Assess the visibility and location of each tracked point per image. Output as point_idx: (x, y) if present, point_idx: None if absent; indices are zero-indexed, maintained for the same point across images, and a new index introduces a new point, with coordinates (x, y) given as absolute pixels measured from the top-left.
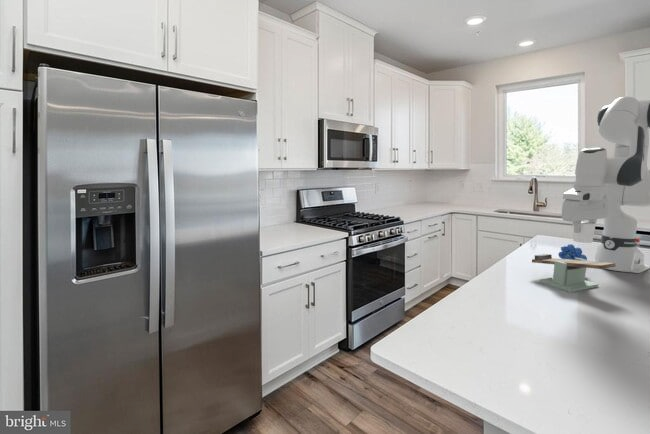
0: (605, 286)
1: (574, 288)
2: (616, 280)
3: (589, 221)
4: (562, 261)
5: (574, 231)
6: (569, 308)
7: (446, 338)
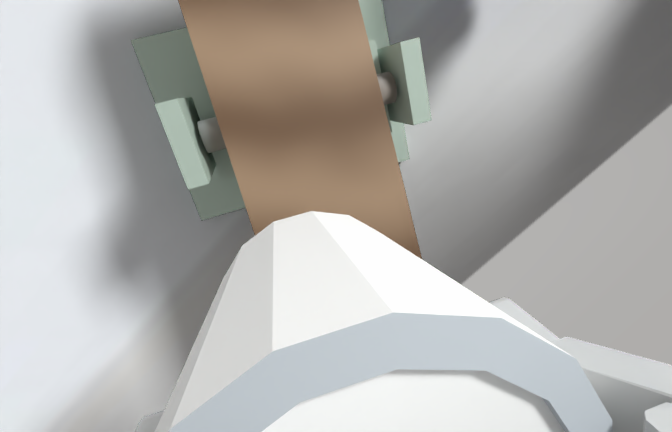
0: (440, 157)
1: (236, 205)
2: (566, 86)
3: (661, 406)
4: (244, 91)
5: (144, 427)
6: (56, 382)
7: None
